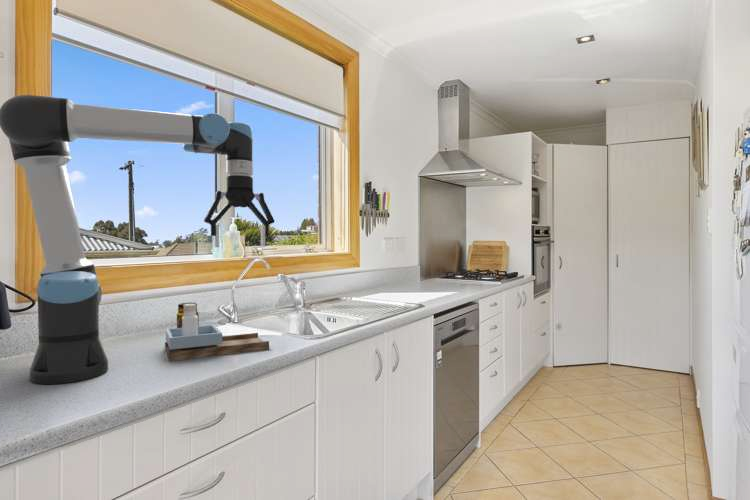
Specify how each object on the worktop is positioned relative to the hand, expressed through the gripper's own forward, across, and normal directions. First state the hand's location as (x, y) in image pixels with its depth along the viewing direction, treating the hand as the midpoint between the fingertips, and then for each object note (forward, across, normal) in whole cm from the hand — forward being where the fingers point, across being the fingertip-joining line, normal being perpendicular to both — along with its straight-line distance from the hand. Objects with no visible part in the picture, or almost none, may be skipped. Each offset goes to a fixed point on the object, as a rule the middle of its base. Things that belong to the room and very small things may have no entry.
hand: (240, 247), depth 138 cm
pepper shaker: (+25, -15, -6) cm, 30 cm away
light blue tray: (+28, -14, -6) cm, 32 cm away
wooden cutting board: (+29, -8, -6) cm, 30 cm away
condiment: (+29, -14, +7) cm, 33 cm away
